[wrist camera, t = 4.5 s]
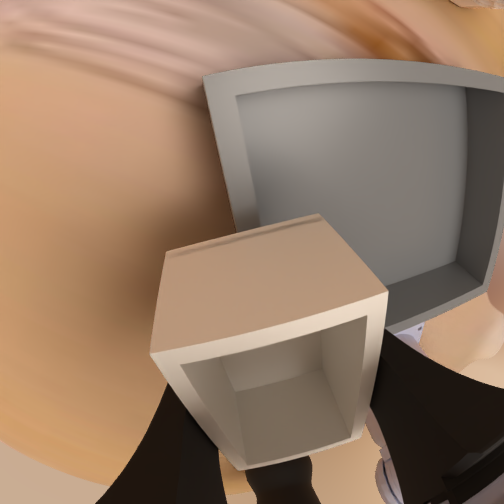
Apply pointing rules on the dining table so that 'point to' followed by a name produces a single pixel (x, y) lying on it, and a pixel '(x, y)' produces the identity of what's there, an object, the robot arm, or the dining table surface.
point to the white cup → (480, 3)
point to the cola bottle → (283, 482)
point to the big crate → (373, 167)
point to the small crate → (271, 339)
